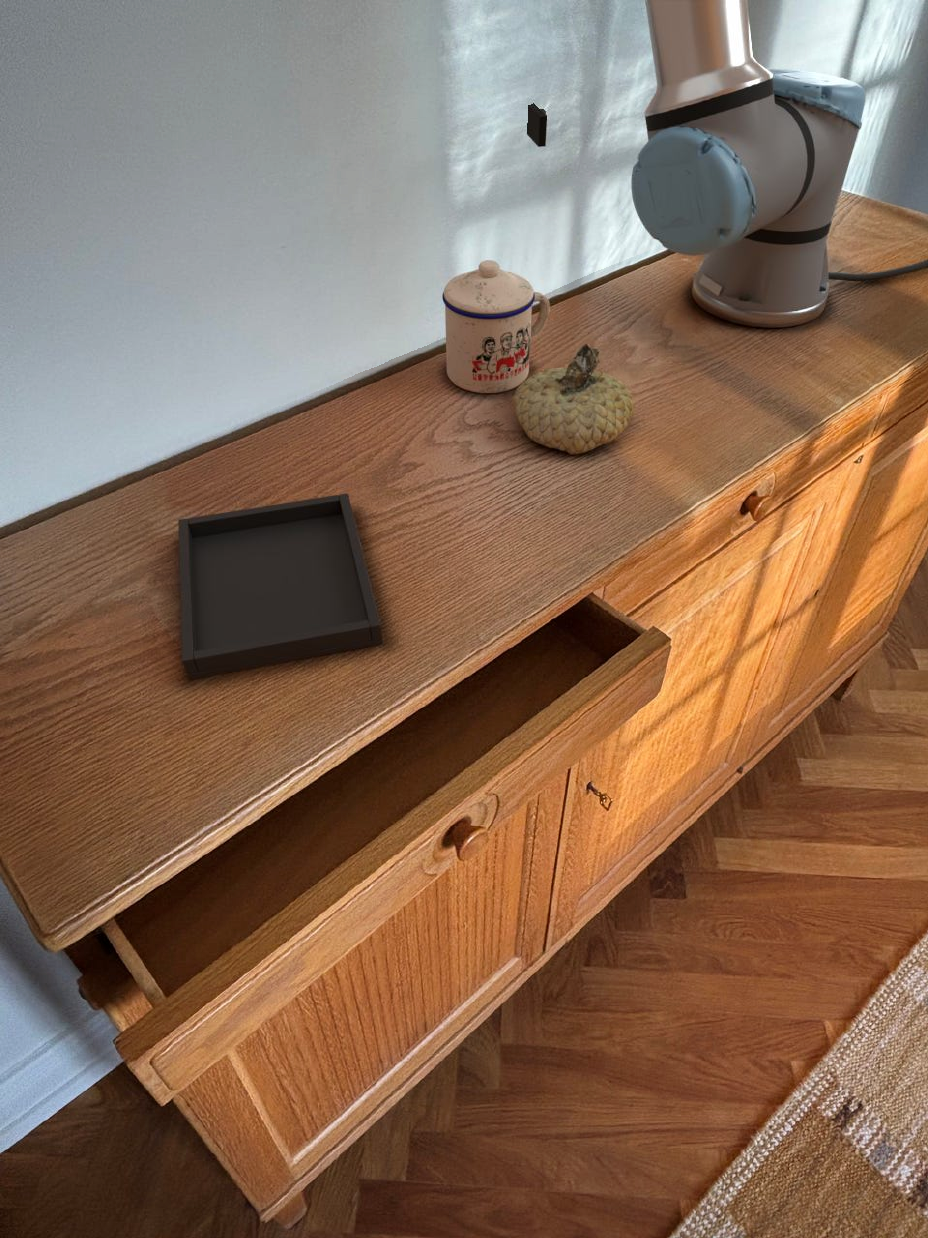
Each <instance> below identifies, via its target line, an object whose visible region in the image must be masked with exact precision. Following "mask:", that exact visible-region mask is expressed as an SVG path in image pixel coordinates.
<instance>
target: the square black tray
mask: <svg viewBox="0 0 928 1238" xmlns="http://www.w3.org/2000/svg"><path fill="white" fill-rule="evenodd" d="M177 526H178V529H177V530H178V562H179V601H180V632H181V633H180V639H181V641H180V642H181V662H182V665H183V669H184V671H185V673H186V677H187V679H188V681H192V680H197V679H203V678H209V677H214V676H219V675H220V676H221V675H224V674H230V673H236V672H240V671H245V670H247V671H248V670H252V669H256V668H262V667H267V666H273V665H278V664H284V663H290V662H294V661H295V662H296V661H300V660H305V659H311V658H317V657H321V656H326V655H332V654H338V653H343V652H349V651H354V650H359V649H364V648H370V647H374V646H375V647H376V646H380V645H384V639H383V631H382V623H381V618H380V615H379V611H378V608H377V603H376V599H375V596H374V591H373V588H372V587H373V586H372V584H371V580H370V575H369V572H368V567H367V564H366V560H365V556H364V551H363V547H362V544H361V539H360V535H359V531H358V527H357V524H356V520H355V516H354V512H353V509H352V504H351V499H350V496H349V494H348V493H340V494H334V495H329V496H327V495H326V496H322V497H316V498H309V499H303V500H296V501H290V502H284V503H277V504H270V505H263V506H258V507H257V506H256V507H252V508H251V507H250V508H243V509H238V510H232V511H226V512H225V511H224V512H219V513H213V514H205V515H200V516H192V517H188V518H181V519H178V520H177Z"/></svg>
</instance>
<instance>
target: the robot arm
mask: <svg viewBox="0 0 928 1238" xmlns="http://www.w3.org/2000/svg"><path fill="white" fill-rule="evenodd" d="M644 3H645V9H646V16H647V25H648V30H649V31H648V32H649V39H650V43H651V45H650V46H651V50H652V58H653V66H654V72H655V81H656V89H655V90H656V91H655V92H654V94H653V96H652V98H651V99H650V101H649V103H648V105H647V106H646V109H645V110H644V119H645V125H646V134H647V140H648V141H647V142H646V143H645V144H644V145H643V147H642V148H641V149H640V151H639V153H638V154H637V162H636V163H635V164H634V165H633V168H632V172H631V179H630V180H631V183H630V184H631V196H632V202H633V206H634V210H635V211H636V214H637V217H638V219H639V220H640V222H641V224H642V226H643V228H644V229H645V230H646V231H647V233H648V235H650V237H651V238H652V239H654V240H656V241H658V242H659V243H660V244H661V245H662V246H663V247H664V248H665V249H667V250H668V251H671V252H673V253H676V254H679V255H683V256H694V257H695V256H702V255H704V256H703V259H702V261H701V262H700V265H699V266H698V267H697V270H696V272H695V274H694V278H693V283H692V290H691V295H692V297H693V300H694V301H695V303H696V304H697V305H698V306H699V307H700V308H701V309H703V310H705V311H706V312H708V313H709V314H711V315H713V316H715V317H717V318H719V319H722V320H724V321H727V322H731V323H735V324H738V325H743V326H749V327H756V328H788V327H793V326H798V325H803V324H805V323H808V322H811V321H813V320H815V319H816V318H818V317H819V316H820V315H821V314H822V313H823V311H824V310H825V307H826V303H827V300H828V297H829V293H830V282H829V281H832V280H833V281H846V282H866V281H875V280H882V279H888V278H893V277H897V276H901V275H906V274H911V273H913V272H917V271H921V270H924V269H927V268H928V259H926V260H923V261H920V262H917V263H913V264H909V265H905V266H902V267H896V268H893V269H888V270H881V271H875V272H865V273H853V272H852V273H851V272H839V271H829V255H828V254H829V253H828V251H829V250H828V236H829V233H830V230H831V227H832V222H833V220H834V216H835V213H836V210H837V207H838V202H839V200H840V196H841V193H842V188H843V186H844V182H845V179H846V176H847V173H848V170H849V169H848V168H849V165H850V162H851V159H852V155H853V152H854V149H855V145H856V141H857V138H858V134H859V131H861V129H862V127H863V126H862V125H863V122H862V118H863V115H864V114H863V113H864V109H865V105H866V101H867V97H866V96H867V95H866V92H865V89H864V88H863V87H862V86H861V85H860V84H858V83H857V82H855V81H852V80H850V79H847V78H843V77H840V76H839V77H838V76H836V75H830V74H825V73H820V72H815V71H807V70H801V69H791V68H765V67H764V66H762V65H761V64H760V63H759V62H758V61H756V59H755V58H754V56H753V48H752V47H753V45H752V36H751V26H750V15H749V14H750V13H749V5H748V0H644ZM547 127H548V121H547V115H546V111H545V110H544V109H539V108H538V107H537V106H536V105H535V104H534V103H533V104H531V105H528V123H527V134H526V135H527V137H528V138H529V139H530V140H531V141H532V142H533V143H534V144H535V145H536V146H537V148H544V147H546V145H547V129H548V128H547Z"/></svg>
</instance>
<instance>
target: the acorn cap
mask: <svg viewBox="0 0 928 1238" xmlns="http://www.w3.org/2000/svg"><path fill="white" fill-rule="evenodd" d="M599 354H600V352H599V350H598V349H597V348H594V347H590V346H589V345H588V343H585V344H584V345H582V346H581V347H580V348H579V349H578V351H577V352H576V354H575V355H574V357H573V358H572V359H571V361H570V362H569V363H568V367H567V368H566V367H564V366H561V367H556V368H544V369H542V370H541V371H540V372H537V373H535V374H533V375H532V376H530V377H528V378H526V379H525V380H524V381H523V382H522V383H521V384H520V385H519V386H517V387H516V391H515V395H514V396H513V397H514V398H513V406H514V412H515V414H516V419H517V420H518V424H519V425H520V427H521V428H522V429H523V431H524V433H525V434H526V436H527V437H528V438H529V440H531V441H532V442H535V443H538V444H540V445H542V446H544V447H546V448H549V449H555V450H559V451H561V452H567V453H568V454H569V455H580V454H584V453H587V452H589V451H593V450H594V449H595V448H598V447H599V446H601V445H605V444H609V443H610V442H613V441H614V440H615V439H616V438H617V437H619V436H621V434H622V432H624V431H625V430H626V428H627V426H628V425H629V423H631V422H632V420H633V418H634V416H635V415H634V414H635V407H636V406H635V401H634V397H633V395H632V393H631V392H630V390H629V389H628V388H627V386H626V385H625V384H624V383H623V382H622V381H620V380H619V379H618V378H617V377H615V376H613V375H611V374H609V373H606V372H604V371H601V370H598V371H597V370H596V368H597V366H599V364H600V362H601V361H600V358H599V357H598V356H599ZM595 370H596V371H595Z"/></svg>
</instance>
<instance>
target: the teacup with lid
mask: <svg viewBox="0 0 928 1238" xmlns="http://www.w3.org/2000/svg"><path fill="white" fill-rule="evenodd" d="M441 296H442V302H443V304H444V313H445V314H444V316H445V317H444V318H445V321H444V323H445V356H446V358H445V359H446V374H447V376H448V379H449V380H450V381H451V382H452V383H453V384H454V385H455V386H457V387H459V388H461V389H463V390H466V391H469V392H472V393H478V394H497V393H503V392H507V391H510V390H513V389H515V388H518V387H519V386H520V385H521V384H522V383H523V382H524V381H526V380H527V379H528V378H527V377H528V376H529V370H530V355H531V353H530V351H531V341H533V340H534V339H536V338H537V337H538V336H540V335H541V333H542V332H543V331H544V329H545V328H546V325H547V323H548V321H549V318H550V313H551V303H550V300H549V298H548V297H547V296H546V295H544V294H543V293H541V292H539V291H534V288H533V286H532V284H531V283H530V282H529V281H528V280H527V279H526V278H525V277H523V276H521V275H519V274H517V273H515V272H511V271H506V270H503V269H500V264H499V263H498V261H496V260H492V259H487V260H486V259H485V260H482V261H481V262H480V263H479V264H478V268H477V269H475V270H472V271H467V272H463V273H460V274H458V275H456V276H454V277H453V278H451V279H450V280H449V281H448V282H447V283H446V285H445V286H444V289H443V292H442V295H441ZM536 302H539V312H538V315H537V318H536V320H535V322H534V324H533V325H532V314H533V313H532V312H533V305H534V303H536Z"/></svg>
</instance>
